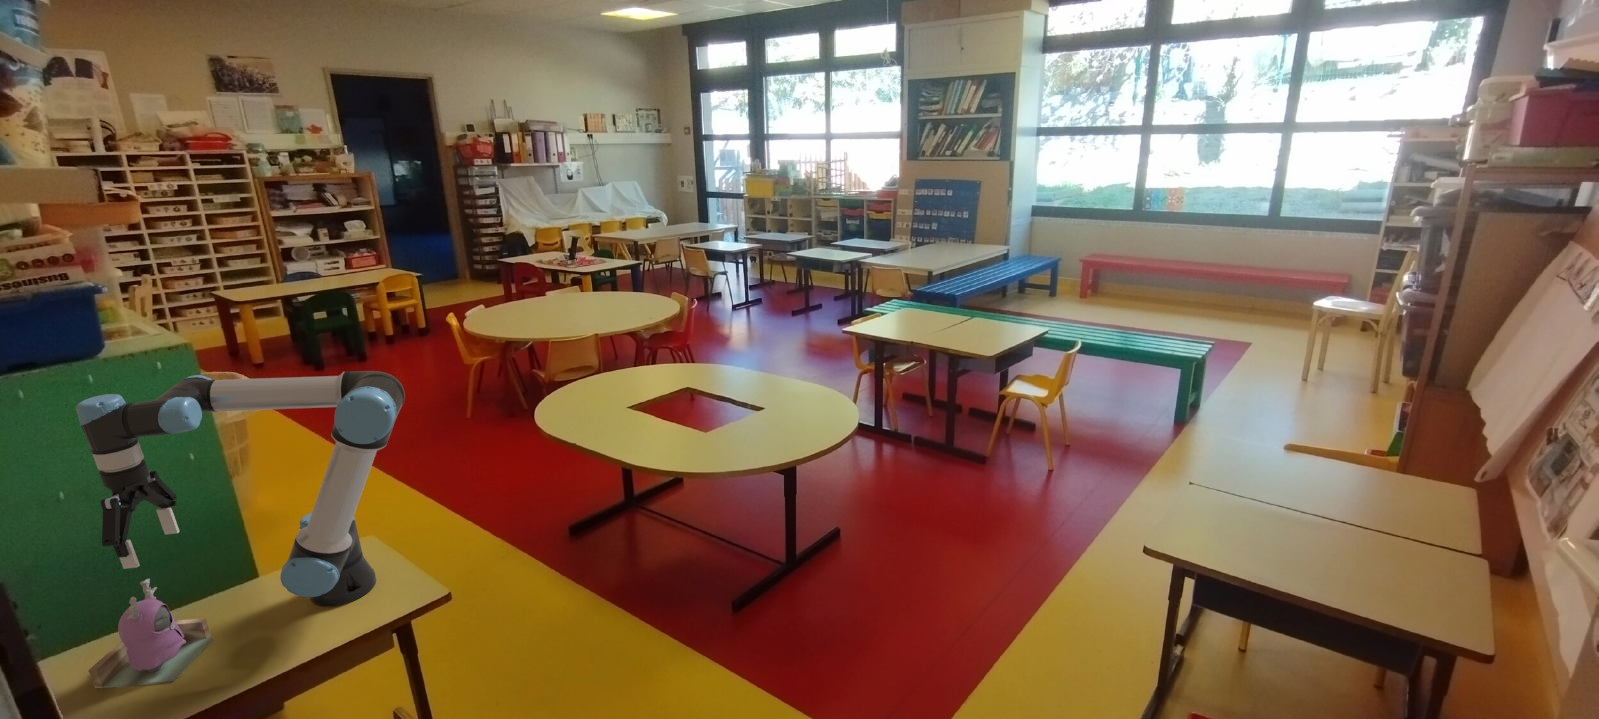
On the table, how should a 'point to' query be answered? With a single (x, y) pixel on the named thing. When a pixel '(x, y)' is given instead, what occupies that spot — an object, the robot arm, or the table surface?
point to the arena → (118, 673)
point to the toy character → (149, 632)
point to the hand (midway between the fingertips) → (152, 549)
